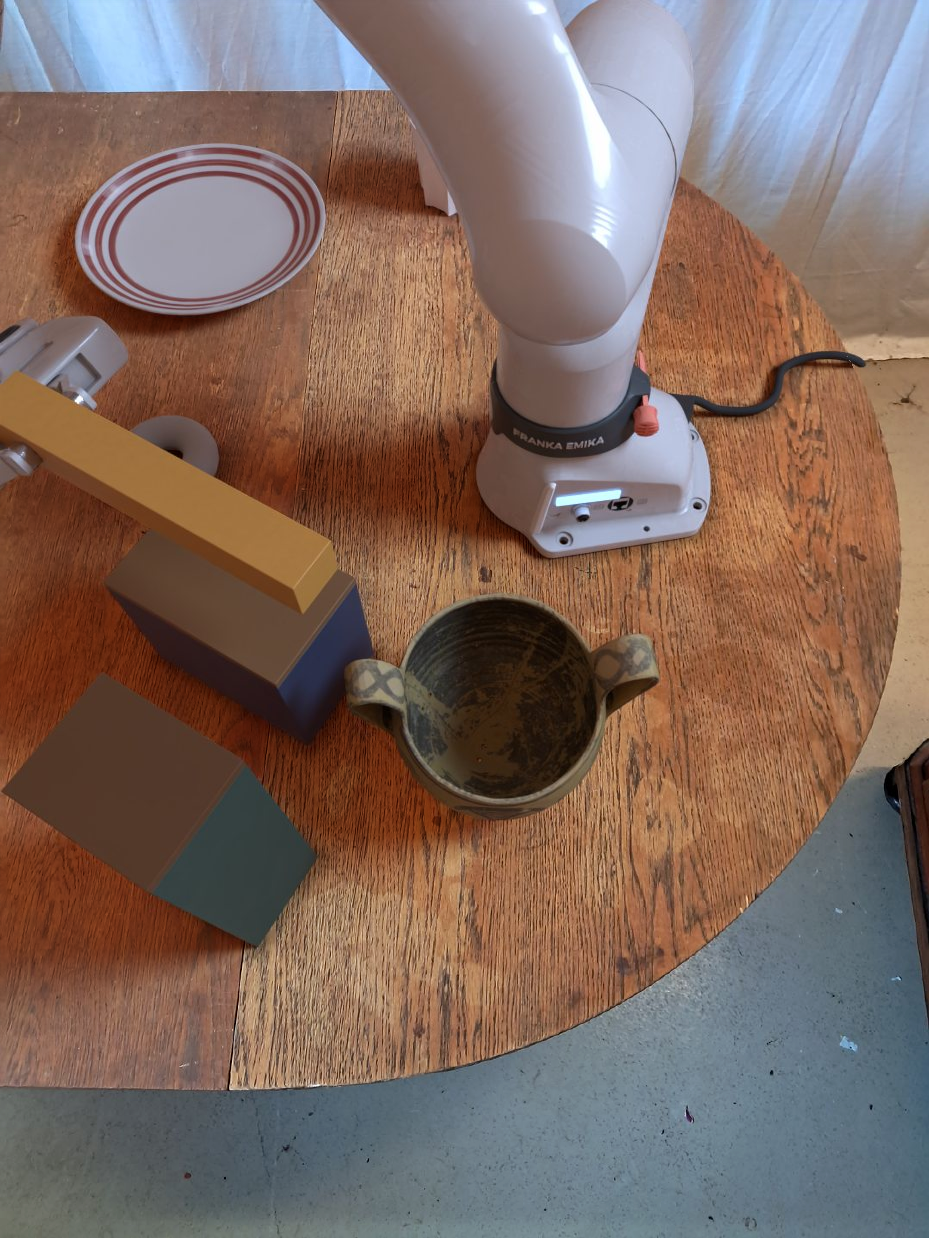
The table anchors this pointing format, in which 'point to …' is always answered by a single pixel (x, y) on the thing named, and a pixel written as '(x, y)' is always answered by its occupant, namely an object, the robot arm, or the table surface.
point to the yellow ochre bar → (168, 494)
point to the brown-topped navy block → (244, 633)
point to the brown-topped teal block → (165, 810)
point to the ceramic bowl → (500, 703)
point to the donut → (182, 440)
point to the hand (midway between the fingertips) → (57, 431)
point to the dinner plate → (200, 229)
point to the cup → (431, 177)
